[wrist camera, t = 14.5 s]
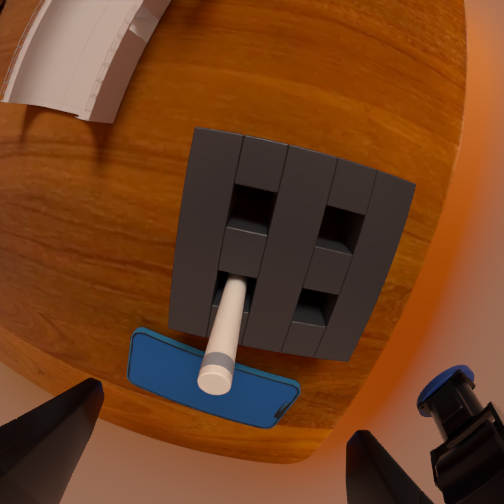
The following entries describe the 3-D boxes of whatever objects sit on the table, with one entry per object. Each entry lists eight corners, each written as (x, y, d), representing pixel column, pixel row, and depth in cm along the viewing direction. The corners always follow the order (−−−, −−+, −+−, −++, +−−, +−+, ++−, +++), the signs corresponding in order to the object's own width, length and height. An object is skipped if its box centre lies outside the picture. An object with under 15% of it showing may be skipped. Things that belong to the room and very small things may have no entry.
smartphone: (132, 327, 21) (305, 387, 22) (137, 320, 22) (304, 379, 22) (125, 381, 23) (270, 430, 24) (129, 375, 24) (270, 423, 25)
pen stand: (388, 176, 17) (416, 184, 13) (336, 328, 21) (348, 362, 17) (210, 132, 16) (194, 126, 13) (183, 298, 20) (167, 328, 17)
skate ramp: (98, -38, 11) (71, -61, 6) (232, -37, 12) (222, -76, 7) (27, 103, 15) (-14, 101, 11) (144, 133, 17) (104, 129, 12)
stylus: (253, 264, 19) (238, 384, 9) (242, 277, 20) (218, 400, 9) (238, 253, 19) (208, 367, 9) (228, 267, 19) (190, 384, 9)
